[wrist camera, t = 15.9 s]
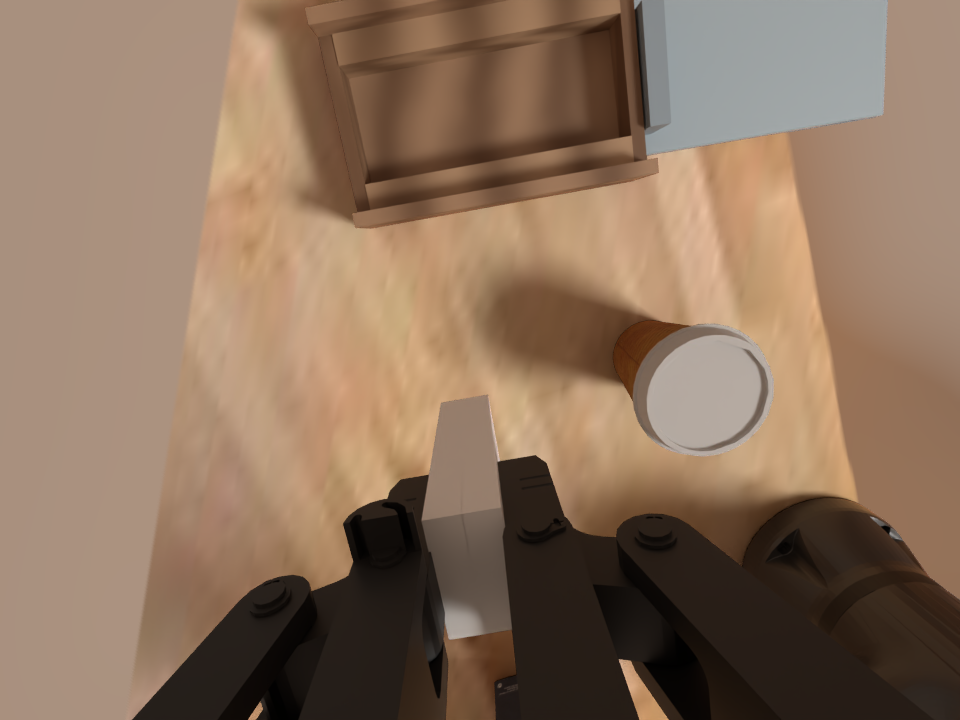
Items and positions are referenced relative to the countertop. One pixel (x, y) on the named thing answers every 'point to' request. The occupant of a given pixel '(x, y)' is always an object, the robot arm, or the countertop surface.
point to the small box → (507, 699)
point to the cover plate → (756, 67)
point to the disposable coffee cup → (694, 384)
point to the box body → (481, 101)
